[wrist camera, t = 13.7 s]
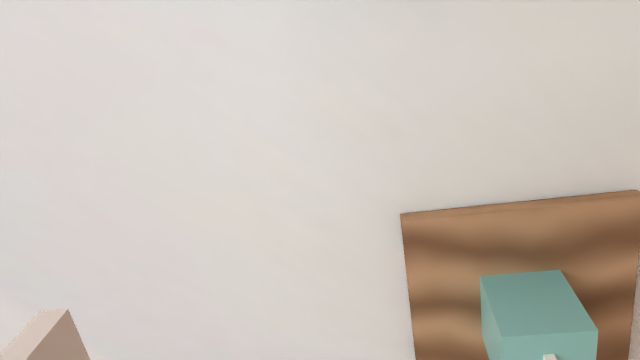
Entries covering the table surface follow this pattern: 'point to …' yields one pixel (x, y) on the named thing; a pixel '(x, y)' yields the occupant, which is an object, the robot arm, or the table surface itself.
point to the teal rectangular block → (535, 318)
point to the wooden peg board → (521, 265)
